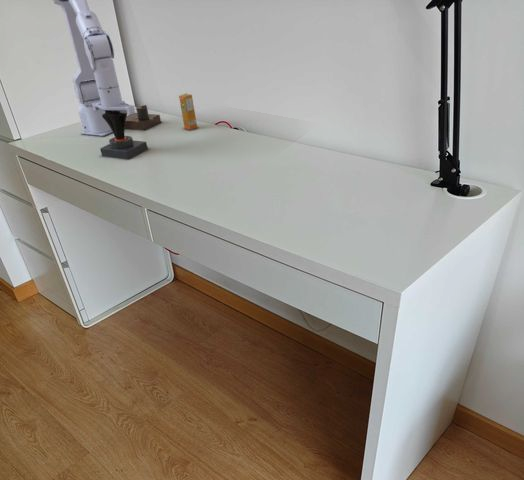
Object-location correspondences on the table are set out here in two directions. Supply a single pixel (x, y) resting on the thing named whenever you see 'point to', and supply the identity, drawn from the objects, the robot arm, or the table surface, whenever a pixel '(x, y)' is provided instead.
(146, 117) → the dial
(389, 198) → the table surface
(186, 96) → the supplement box
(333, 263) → the table surface
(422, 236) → the table surface
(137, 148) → the switch block
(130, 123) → the brown wooden block
